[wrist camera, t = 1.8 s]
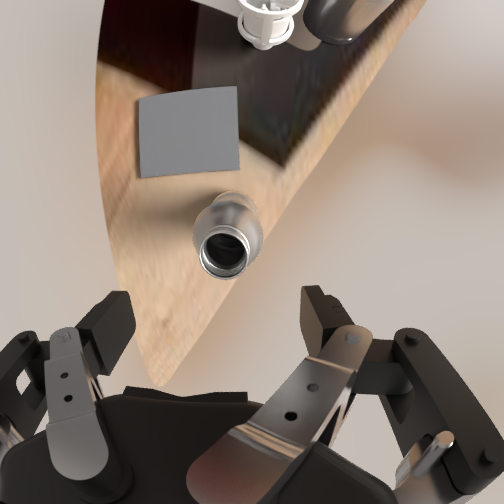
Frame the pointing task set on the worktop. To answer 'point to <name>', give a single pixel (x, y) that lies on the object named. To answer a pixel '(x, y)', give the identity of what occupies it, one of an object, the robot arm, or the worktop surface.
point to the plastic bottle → (228, 235)
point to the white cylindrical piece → (267, 21)
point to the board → (189, 132)
